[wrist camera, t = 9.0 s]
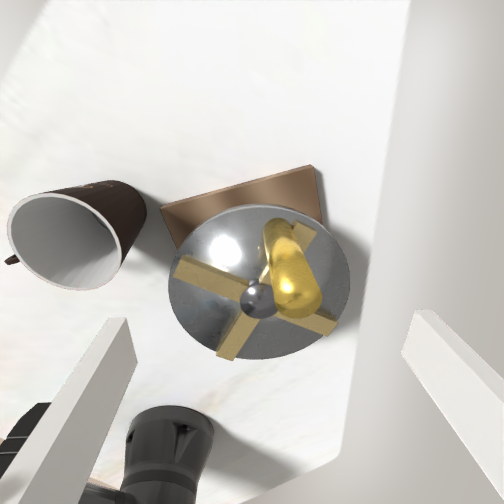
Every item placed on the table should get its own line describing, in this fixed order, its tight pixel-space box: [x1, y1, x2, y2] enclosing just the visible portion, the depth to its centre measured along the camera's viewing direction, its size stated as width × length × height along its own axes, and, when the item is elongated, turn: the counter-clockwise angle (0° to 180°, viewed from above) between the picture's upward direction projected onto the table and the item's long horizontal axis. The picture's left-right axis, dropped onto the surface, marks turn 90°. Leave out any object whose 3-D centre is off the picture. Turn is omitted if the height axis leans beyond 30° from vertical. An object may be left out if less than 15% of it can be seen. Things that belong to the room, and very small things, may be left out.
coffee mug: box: [4, 180, 147, 290], centre depth 26 cm, size 12×9×10 cm
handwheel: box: [168, 203, 350, 361], centre depth 23 cm, size 18×18×12 cm
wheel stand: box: [160, 165, 323, 251], centre depth 31 cm, size 17×19×6 cm
